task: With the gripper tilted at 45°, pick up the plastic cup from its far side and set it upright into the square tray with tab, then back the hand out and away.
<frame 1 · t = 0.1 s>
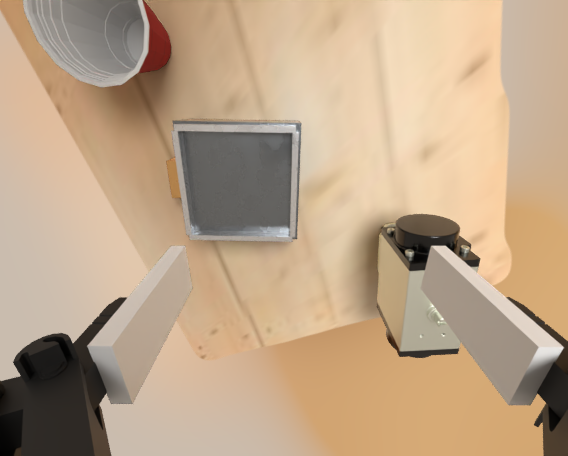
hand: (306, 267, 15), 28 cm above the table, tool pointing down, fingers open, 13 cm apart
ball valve: (391, 246, 45), on the table
square tray with tab: (247, 173, 41), on the table
plastic cup: (149, 46, 34), on the table
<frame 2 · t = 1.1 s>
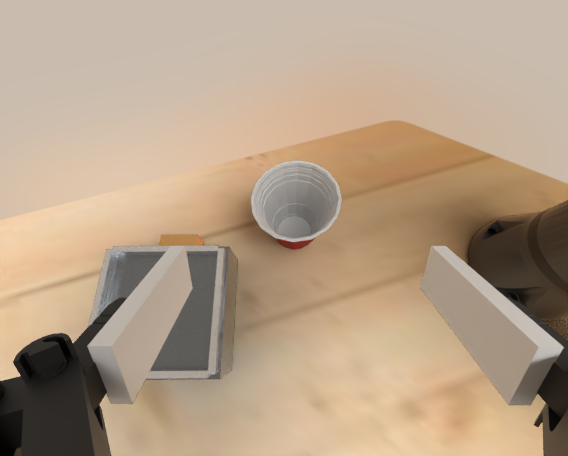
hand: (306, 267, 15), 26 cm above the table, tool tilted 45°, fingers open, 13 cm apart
square tray with tab: (182, 311, 38), on the table
plastic cup: (292, 232, 43), on the table
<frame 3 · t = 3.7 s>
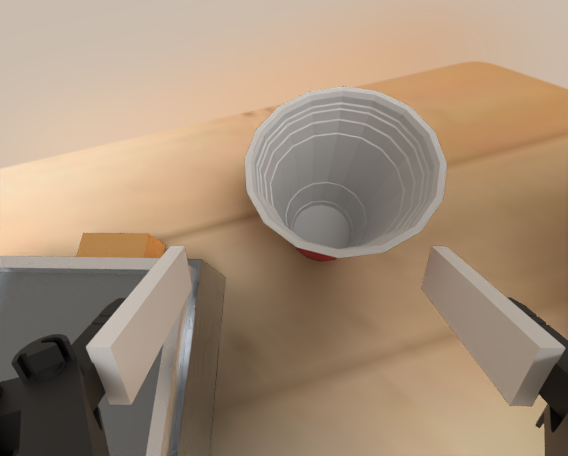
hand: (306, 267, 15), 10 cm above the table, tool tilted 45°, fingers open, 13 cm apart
square tray with tab: (124, 369, 22), on the table
plastic cup: (318, 232, 26), on the table
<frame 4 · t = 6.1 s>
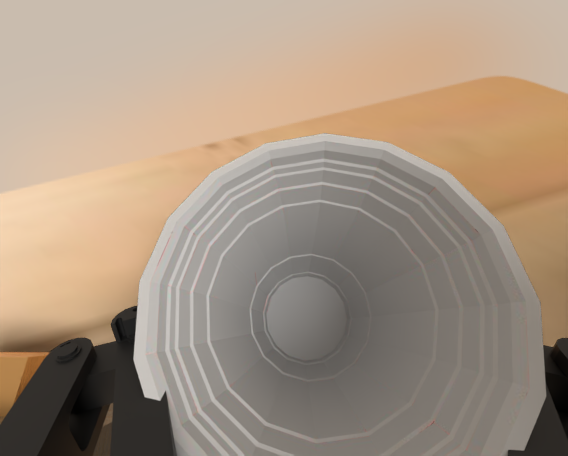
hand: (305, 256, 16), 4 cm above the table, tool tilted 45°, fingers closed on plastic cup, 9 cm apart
plastic cup: (302, 316, 18), on the table, touching gripper
when the fingers open (13 cm above the table, at t = 11.9 s): plastic cup drops 1 cm, resting on square tray with tab.
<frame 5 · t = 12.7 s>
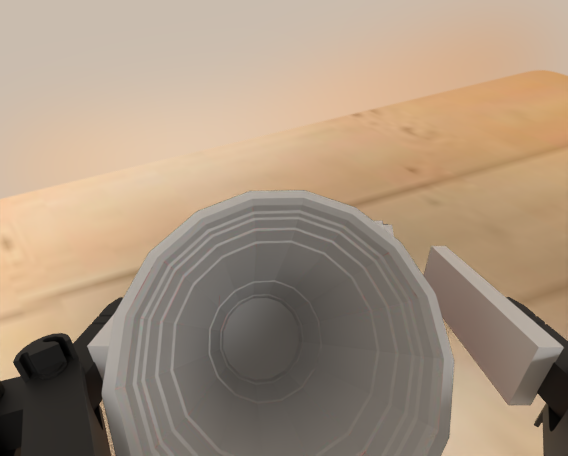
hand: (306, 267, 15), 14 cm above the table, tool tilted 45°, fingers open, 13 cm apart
plastic cup: (258, 336, 19), point 7 cm above the table, touching gripper, square tray with tab
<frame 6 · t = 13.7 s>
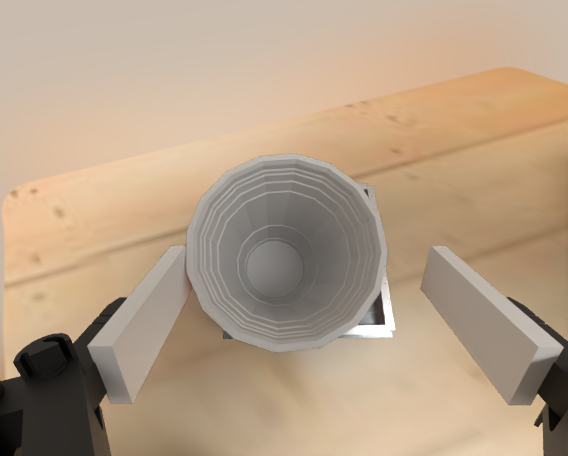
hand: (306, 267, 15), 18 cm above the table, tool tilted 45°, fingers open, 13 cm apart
square tray with tab: (300, 270, 33), on the table
plastic cup: (272, 268, 26), point 7 cm above the table, touching gripper, square tray with tab
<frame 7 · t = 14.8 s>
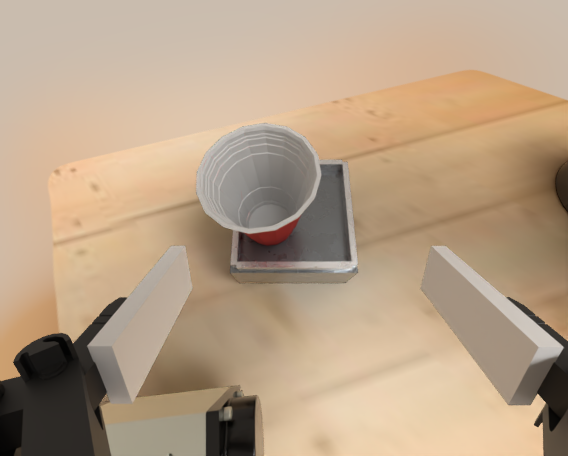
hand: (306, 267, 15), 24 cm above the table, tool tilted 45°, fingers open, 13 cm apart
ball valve: (194, 421, 32), on the table
square tray with tab: (291, 233, 41), on the table
plastic cup: (268, 224, 34), point 7 cm above the table, touching square tray with tab
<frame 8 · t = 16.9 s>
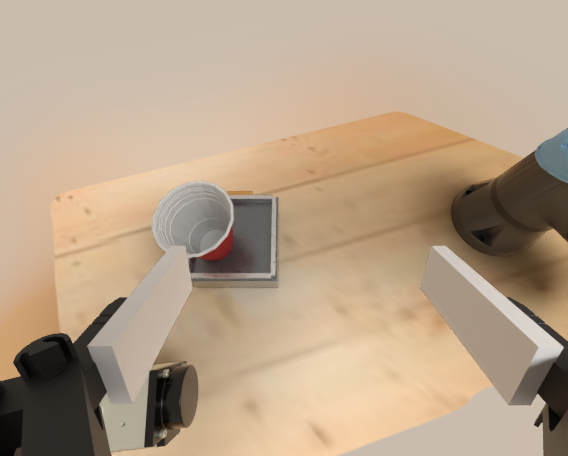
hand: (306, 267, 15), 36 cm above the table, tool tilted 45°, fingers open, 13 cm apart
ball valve: (158, 390, 44), on the table
square tray with tab: (240, 248, 52), on the table
plastic cup: (215, 244, 45), point 7 cm above the table, touching square tray with tab
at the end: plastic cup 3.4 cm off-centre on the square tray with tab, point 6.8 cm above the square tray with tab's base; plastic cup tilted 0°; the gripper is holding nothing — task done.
